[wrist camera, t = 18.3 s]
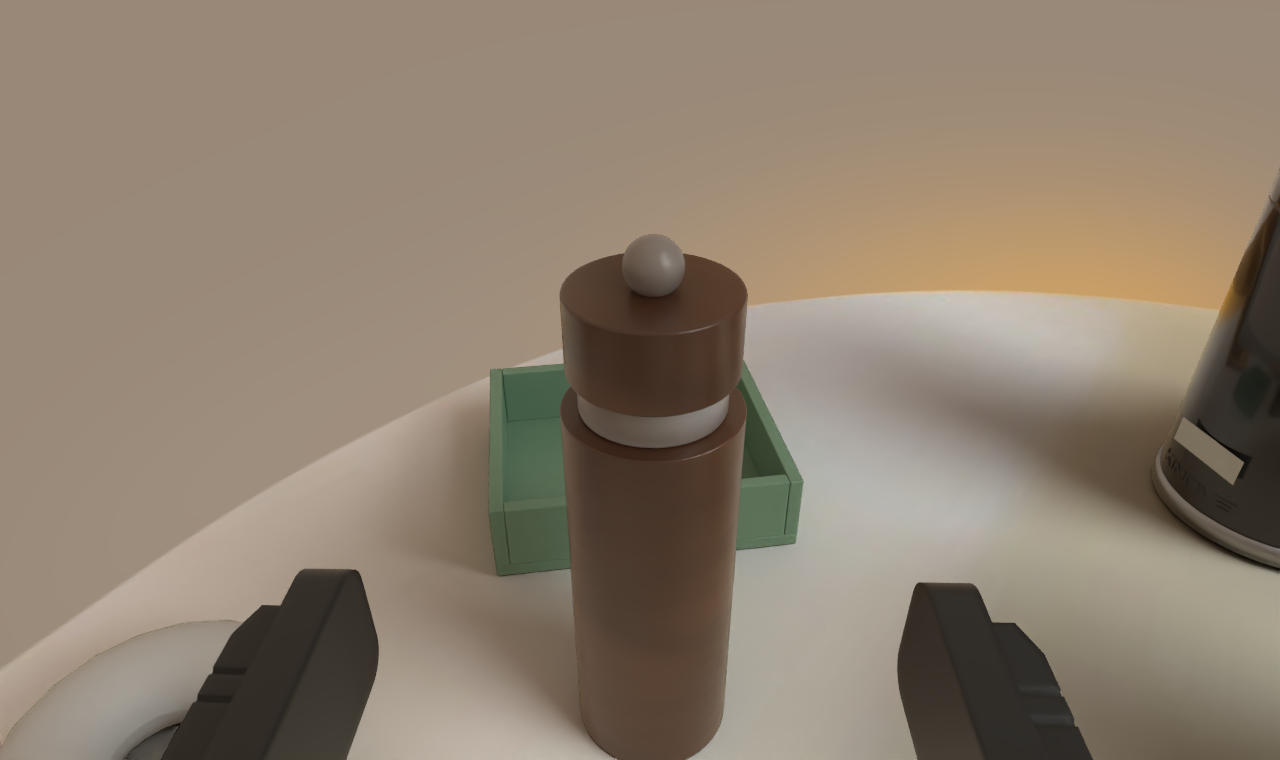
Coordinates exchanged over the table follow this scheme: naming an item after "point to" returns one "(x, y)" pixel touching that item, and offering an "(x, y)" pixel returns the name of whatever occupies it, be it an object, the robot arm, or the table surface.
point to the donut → (121, 695)
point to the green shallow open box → (535, 482)
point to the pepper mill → (652, 491)
